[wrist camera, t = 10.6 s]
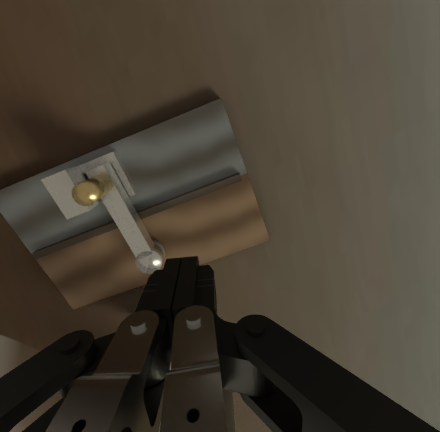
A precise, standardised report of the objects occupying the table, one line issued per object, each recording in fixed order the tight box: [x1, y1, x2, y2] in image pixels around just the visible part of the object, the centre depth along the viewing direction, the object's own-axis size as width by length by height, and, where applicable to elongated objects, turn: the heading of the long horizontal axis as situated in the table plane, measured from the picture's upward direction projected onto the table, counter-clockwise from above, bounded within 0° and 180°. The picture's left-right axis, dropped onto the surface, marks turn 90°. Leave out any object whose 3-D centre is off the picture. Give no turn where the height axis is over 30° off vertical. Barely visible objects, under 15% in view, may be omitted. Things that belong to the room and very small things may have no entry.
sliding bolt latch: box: [0, 98, 270, 310], centre depth 36 cm, size 21×34×3 cm, turn 111°
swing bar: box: [72, 162, 164, 274], centre depth 31 cm, size 16×4×7 cm, turn 21°
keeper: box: [41, 151, 138, 219], centre depth 31 cm, size 6×7×6 cm
